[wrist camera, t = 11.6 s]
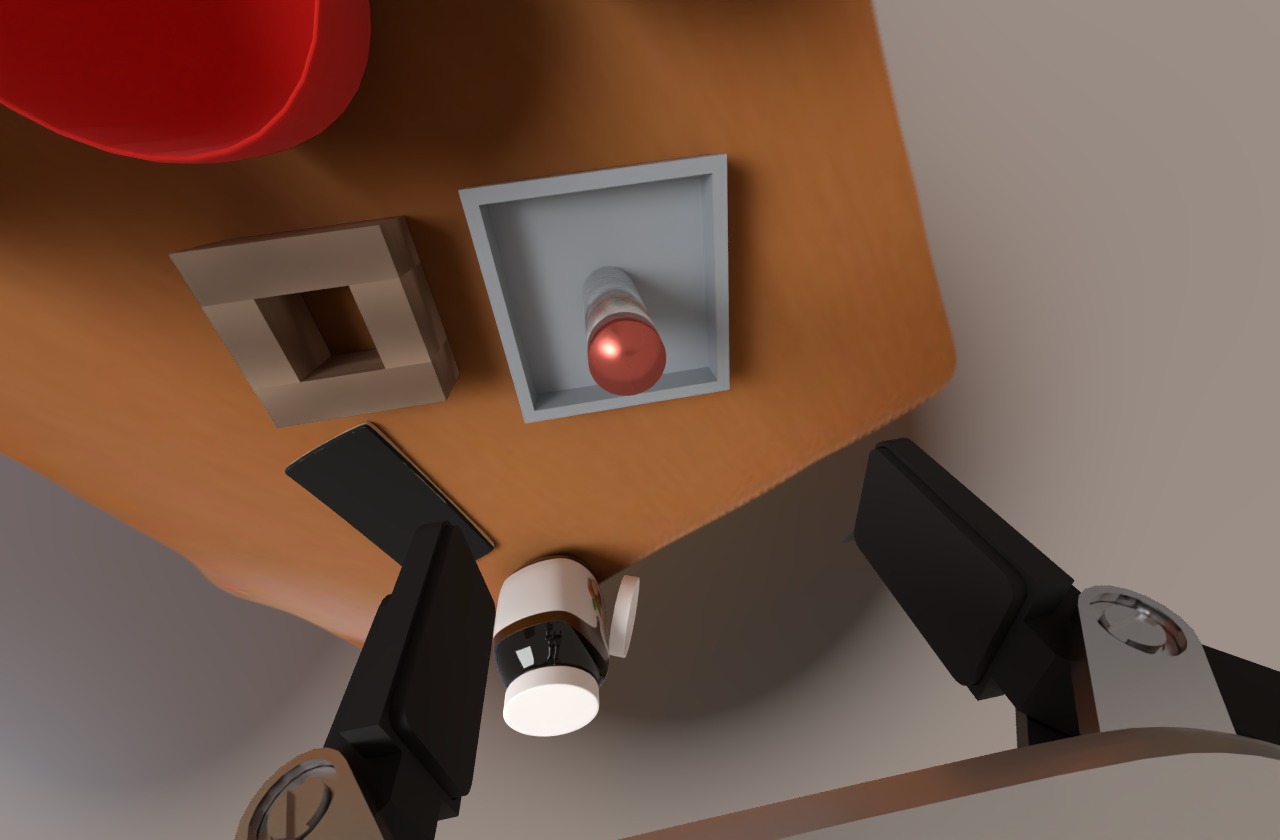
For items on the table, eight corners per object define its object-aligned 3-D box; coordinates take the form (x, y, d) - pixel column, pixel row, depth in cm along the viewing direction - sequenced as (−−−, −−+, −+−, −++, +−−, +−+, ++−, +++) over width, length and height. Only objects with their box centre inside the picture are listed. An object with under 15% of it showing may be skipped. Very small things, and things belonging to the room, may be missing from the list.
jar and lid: (490, 563, 40) (464, 697, 30) (606, 516, 39) (618, 639, 29) (554, 634, 46) (549, 765, 37) (655, 595, 46) (679, 719, 36)
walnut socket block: (222, 240, 25) (167, 254, 22) (404, 215, 26) (378, 224, 22) (310, 397, 30) (277, 428, 27) (459, 373, 31) (446, 400, 28)
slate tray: (469, 186, 26) (458, 190, 23) (711, 153, 26) (726, 153, 24) (528, 402, 33) (525, 423, 30) (717, 371, 34) (729, 389, 31)
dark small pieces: (363, 422, 31) (496, 551, 39) (369, 414, 32) (497, 542, 40) (279, 469, 32) (424, 586, 40) (287, 460, 33) (428, 576, 41)
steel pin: (578, 270, 28) (581, 329, 19) (632, 262, 28) (662, 316, 19) (587, 323, 30) (595, 401, 20) (638, 315, 30) (669, 389, 21)
